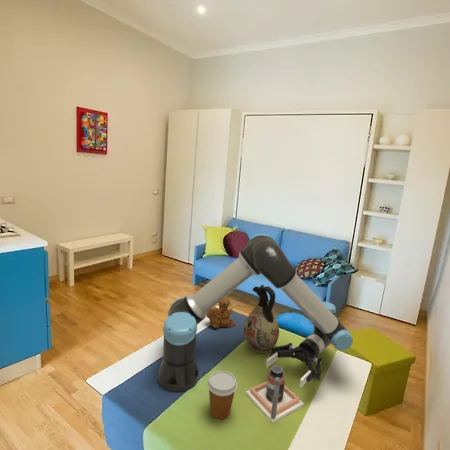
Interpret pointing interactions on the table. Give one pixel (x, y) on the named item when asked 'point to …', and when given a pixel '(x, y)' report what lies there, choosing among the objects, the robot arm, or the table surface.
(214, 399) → the disposable coffee cup
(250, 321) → the ceramic jug
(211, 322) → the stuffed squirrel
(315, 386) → the table surface
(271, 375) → the supplement bottle
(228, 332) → the table surface
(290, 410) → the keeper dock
